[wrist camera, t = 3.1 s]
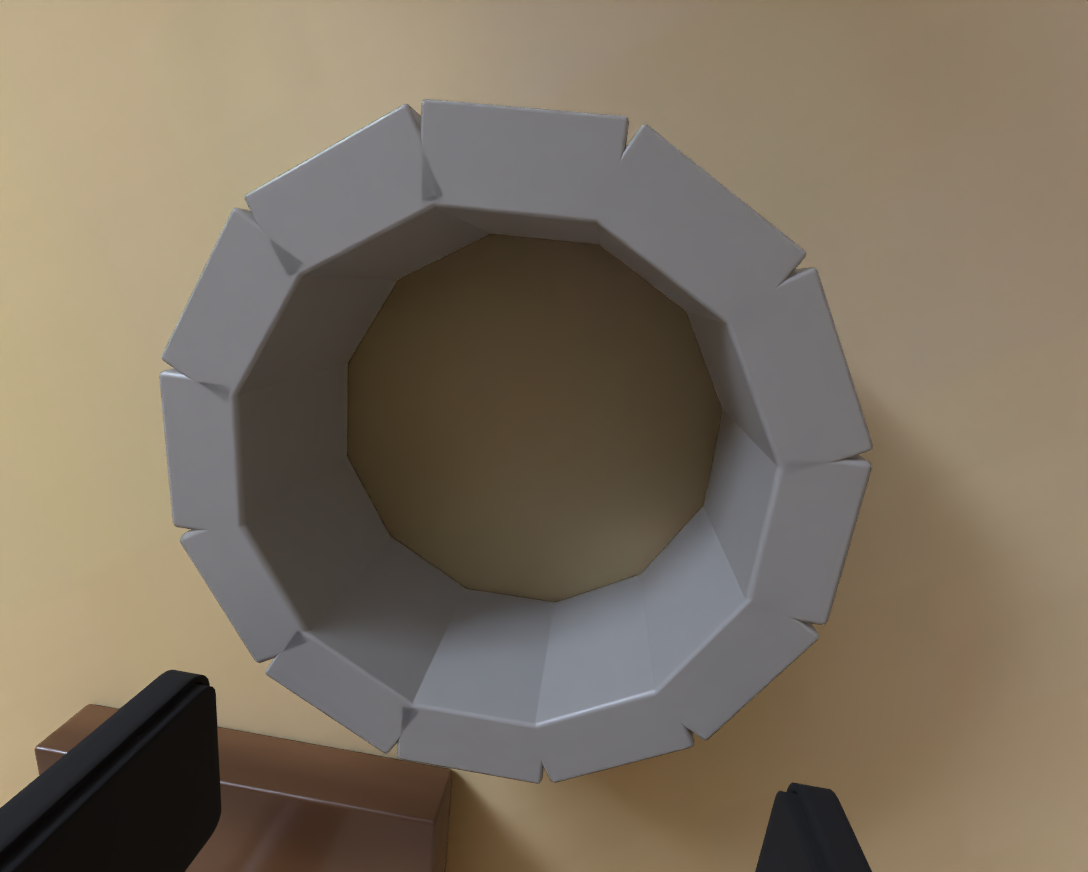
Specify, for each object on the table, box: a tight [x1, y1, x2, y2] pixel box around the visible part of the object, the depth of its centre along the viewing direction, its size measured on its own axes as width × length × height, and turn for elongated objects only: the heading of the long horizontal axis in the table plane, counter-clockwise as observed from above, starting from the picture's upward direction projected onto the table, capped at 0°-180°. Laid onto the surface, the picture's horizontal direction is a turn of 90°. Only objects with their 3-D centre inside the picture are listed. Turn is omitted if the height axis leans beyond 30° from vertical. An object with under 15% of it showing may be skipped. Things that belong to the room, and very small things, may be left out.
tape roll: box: [160, 99, 873, 784], centre depth 9 cm, size 10×10×4 cm
